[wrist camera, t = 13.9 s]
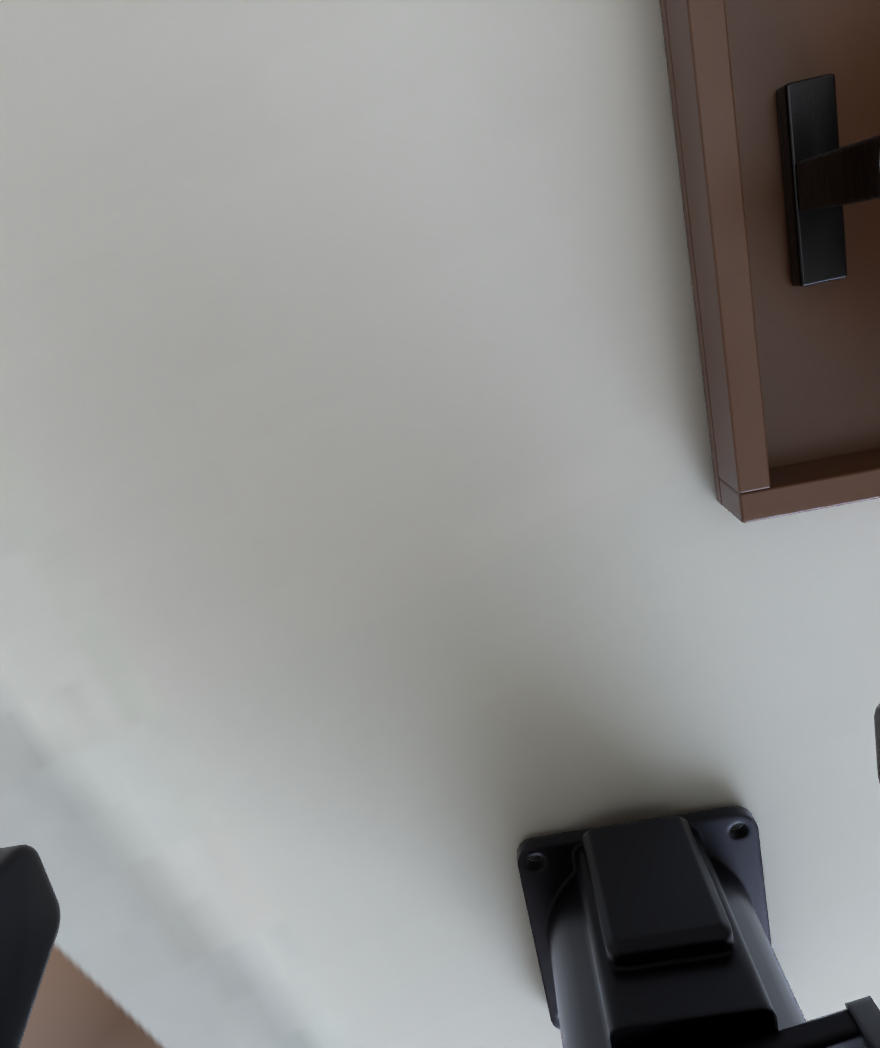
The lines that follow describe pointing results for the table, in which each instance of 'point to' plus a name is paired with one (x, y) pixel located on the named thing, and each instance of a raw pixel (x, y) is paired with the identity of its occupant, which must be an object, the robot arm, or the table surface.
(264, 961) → the table surface
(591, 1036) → the robot arm
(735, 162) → the tray
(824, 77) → the stand
